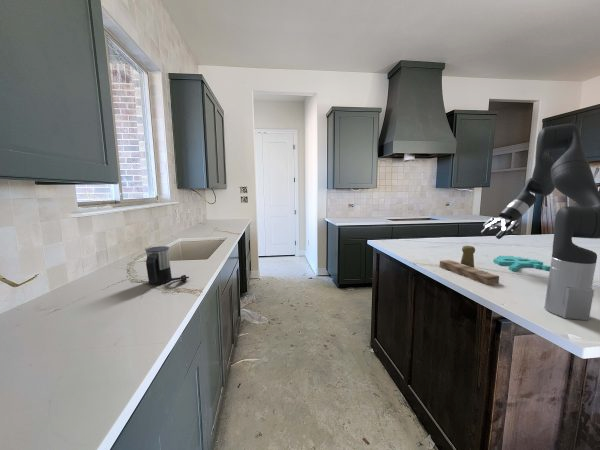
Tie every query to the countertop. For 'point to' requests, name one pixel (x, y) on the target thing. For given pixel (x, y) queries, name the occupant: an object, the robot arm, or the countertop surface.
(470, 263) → the cork
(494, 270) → the countertop surface
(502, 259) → the turquoise toy gun
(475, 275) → the walnut plank
